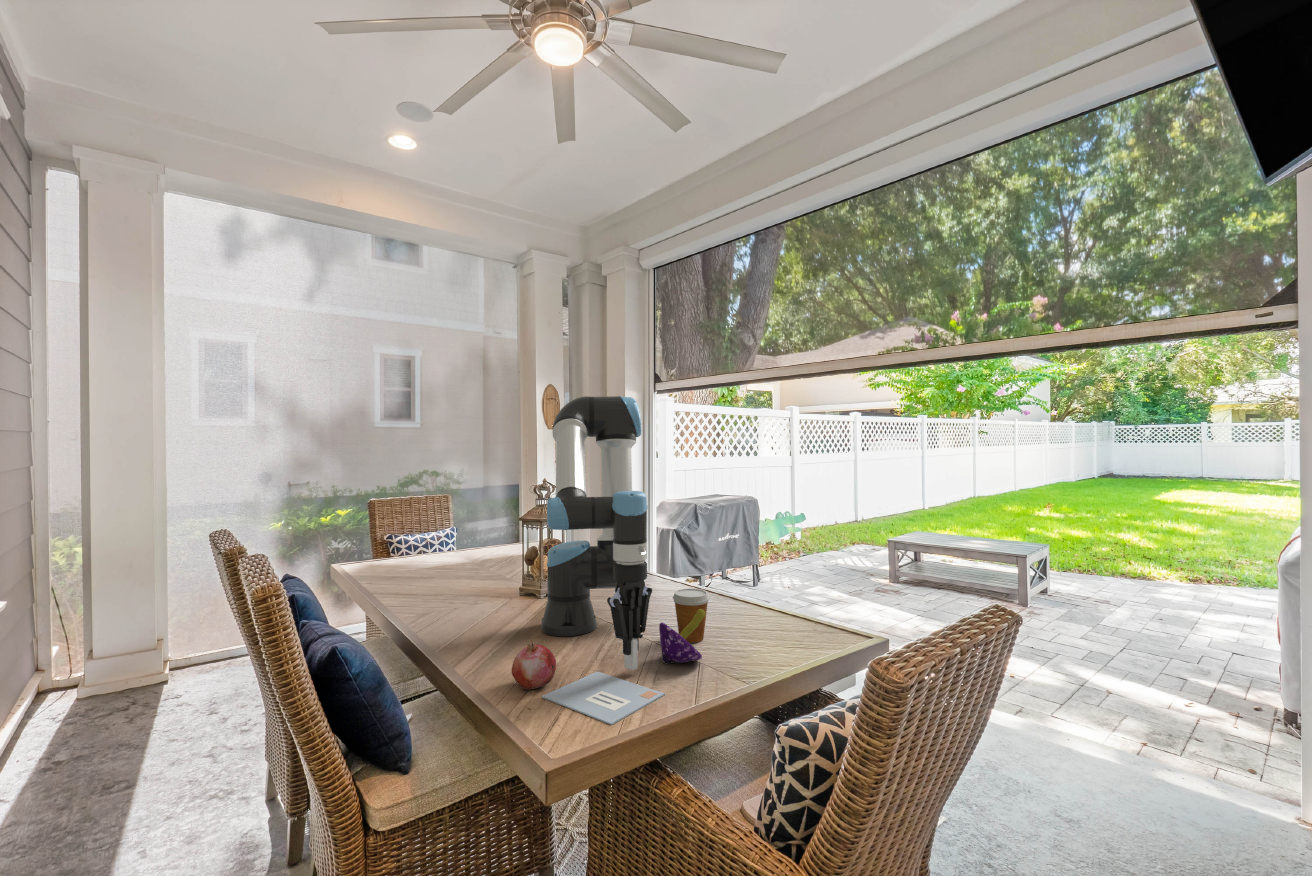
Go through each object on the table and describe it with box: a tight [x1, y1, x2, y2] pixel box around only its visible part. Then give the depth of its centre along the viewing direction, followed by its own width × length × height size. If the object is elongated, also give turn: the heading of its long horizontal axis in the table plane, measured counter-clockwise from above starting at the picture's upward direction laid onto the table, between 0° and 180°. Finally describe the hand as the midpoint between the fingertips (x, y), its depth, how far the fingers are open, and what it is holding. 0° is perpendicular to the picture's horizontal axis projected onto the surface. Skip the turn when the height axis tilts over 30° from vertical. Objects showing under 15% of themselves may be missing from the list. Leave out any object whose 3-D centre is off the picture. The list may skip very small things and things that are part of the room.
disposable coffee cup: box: [672, 588, 710, 644], centre depth 155 cm, size 10×10×12 cm
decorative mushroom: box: [658, 609, 705, 665], centre depth 139 cm, size 12×12×15 cm
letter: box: [541, 670, 666, 726], centre depth 121 cm, size 19×16×1 cm
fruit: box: [511, 639, 557, 691], centre depth 126 cm, size 9×10×10 cm
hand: (630, 667), depth 132 cm, fingers closed
